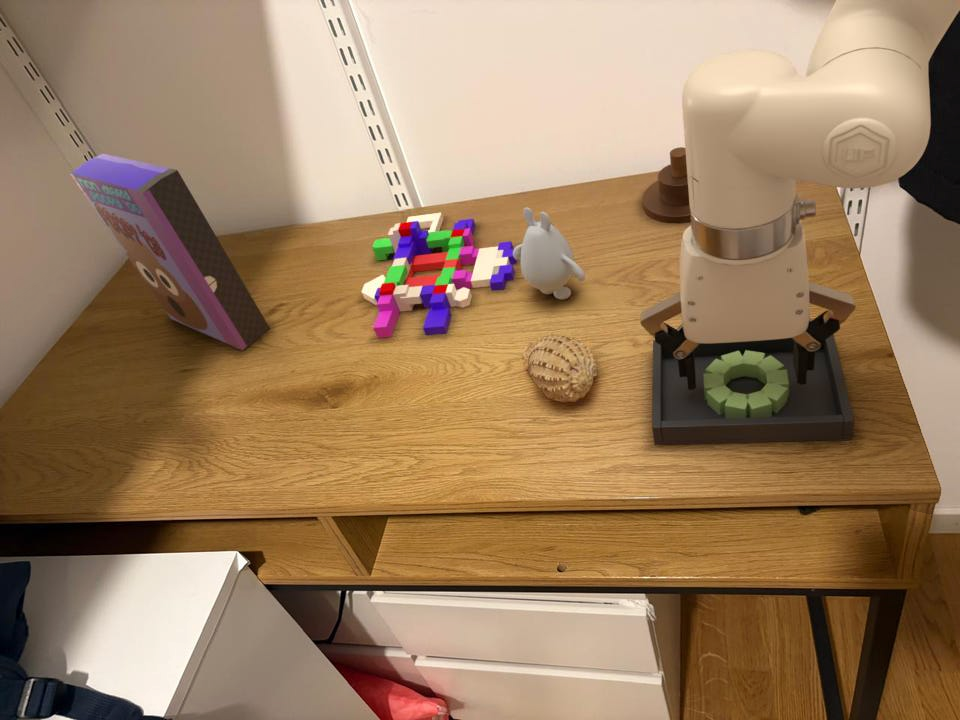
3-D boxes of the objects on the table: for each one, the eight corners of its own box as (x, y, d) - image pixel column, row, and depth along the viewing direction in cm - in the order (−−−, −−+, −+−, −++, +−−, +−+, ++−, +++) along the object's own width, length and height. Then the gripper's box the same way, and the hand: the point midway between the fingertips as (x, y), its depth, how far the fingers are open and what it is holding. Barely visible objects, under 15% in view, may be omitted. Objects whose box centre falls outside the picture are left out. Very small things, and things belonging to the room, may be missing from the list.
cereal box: (171, 319, 106) (68, 172, 90) (197, 299, 108) (101, 151, 92) (243, 351, 96) (141, 191, 80) (269, 328, 98) (176, 168, 82)
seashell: (520, 409, 80) (582, 414, 72) (491, 366, 78) (551, 365, 70) (563, 364, 83) (627, 363, 75) (536, 322, 81) (598, 316, 73)
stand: (721, 174, 98) (719, 125, 93) (725, 217, 91) (724, 167, 86) (643, 184, 101) (638, 137, 96) (642, 227, 94) (636, 178, 89)
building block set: (502, 328, 86) (493, 299, 83) (343, 341, 92) (329, 314, 89) (527, 208, 104) (520, 180, 101) (392, 225, 109) (381, 199, 106)
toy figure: (606, 291, 86) (591, 204, 78) (574, 323, 84) (555, 236, 76) (537, 268, 93) (517, 185, 85) (505, 297, 90) (481, 214, 82)
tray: (830, 347, 72) (832, 328, 70) (851, 440, 64) (854, 421, 62) (655, 357, 77) (652, 339, 75) (654, 445, 69) (651, 427, 67)
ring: (783, 361, 71) (783, 347, 70) (792, 420, 66) (793, 407, 65) (703, 365, 74) (702, 352, 72) (706, 423, 68) (705, 410, 67)
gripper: (856, 180, 57) (840, 342, 69) (629, 207, 62) (649, 354, 74) (876, 237, 52) (855, 402, 63) (626, 261, 57) (648, 410, 69)
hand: (744, 376), depth 69 cm, fingers open, 9 cm apart
